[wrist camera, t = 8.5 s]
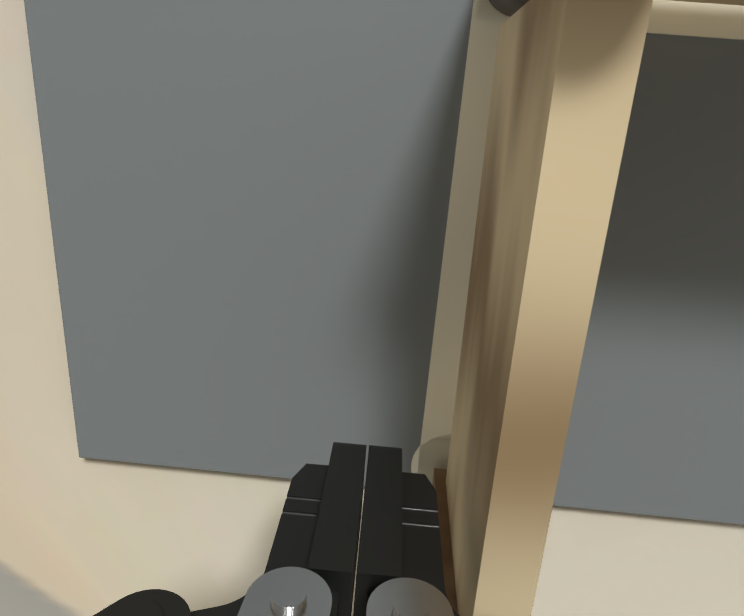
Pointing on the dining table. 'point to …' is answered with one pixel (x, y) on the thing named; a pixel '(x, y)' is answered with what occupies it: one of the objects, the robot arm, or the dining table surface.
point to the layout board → (373, 240)
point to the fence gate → (532, 286)
